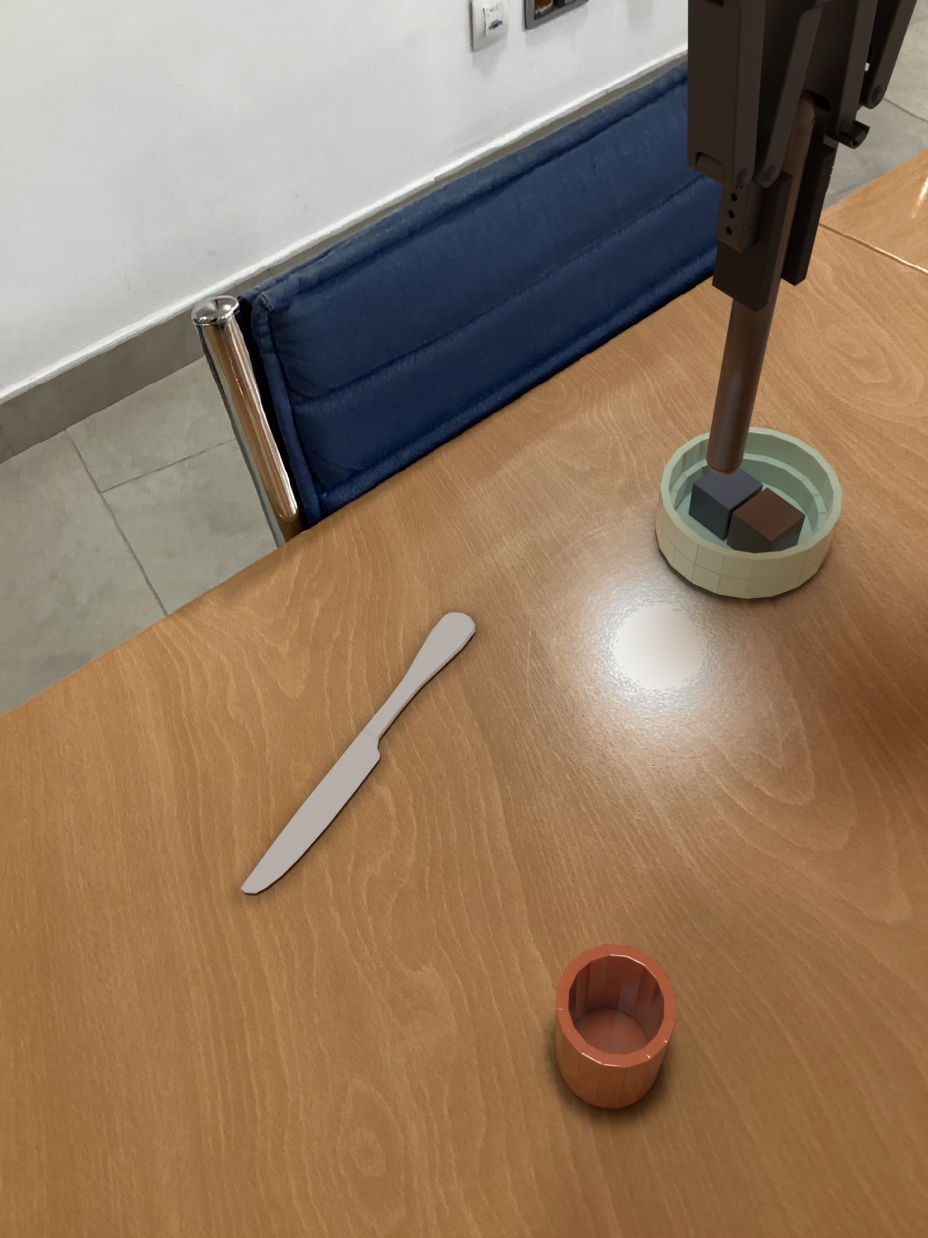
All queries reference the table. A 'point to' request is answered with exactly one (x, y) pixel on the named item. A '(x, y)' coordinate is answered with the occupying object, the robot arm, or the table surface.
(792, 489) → the bowl
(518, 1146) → the table surface
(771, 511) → the block
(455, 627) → the butter knife
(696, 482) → the block
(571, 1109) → the table surface
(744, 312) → the stick
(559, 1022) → the holder
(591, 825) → the table surface
